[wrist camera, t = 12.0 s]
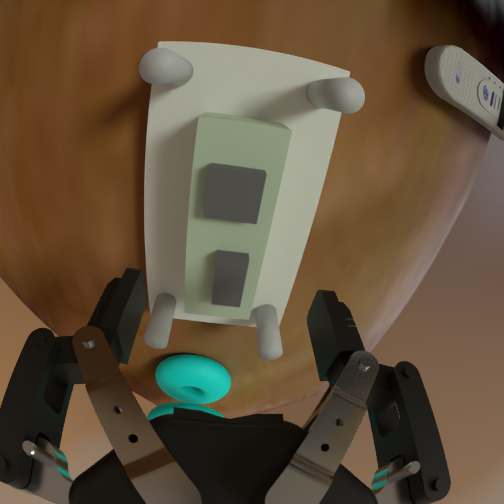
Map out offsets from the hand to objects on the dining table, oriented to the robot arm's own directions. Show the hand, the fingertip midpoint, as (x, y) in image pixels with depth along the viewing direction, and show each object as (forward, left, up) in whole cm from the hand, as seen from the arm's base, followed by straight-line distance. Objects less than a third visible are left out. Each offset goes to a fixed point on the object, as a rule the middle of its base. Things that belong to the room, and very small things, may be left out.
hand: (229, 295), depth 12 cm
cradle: (0, 0, -11) cm, 11 cm away
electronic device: (-16, +21, -11) cm, 28 cm away
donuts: (+24, -2, -11) cm, 27 cm away
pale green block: (0, 0, -10) cm, 10 cm away
